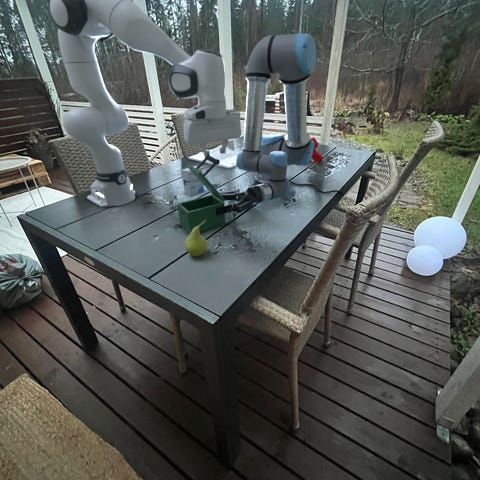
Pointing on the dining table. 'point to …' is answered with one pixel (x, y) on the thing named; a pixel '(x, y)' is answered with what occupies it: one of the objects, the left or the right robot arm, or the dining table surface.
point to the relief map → (220, 157)
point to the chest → (200, 213)
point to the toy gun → (316, 155)
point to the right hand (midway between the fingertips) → (210, 206)
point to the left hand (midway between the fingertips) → (214, 154)
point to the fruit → (196, 242)
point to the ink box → (191, 182)
